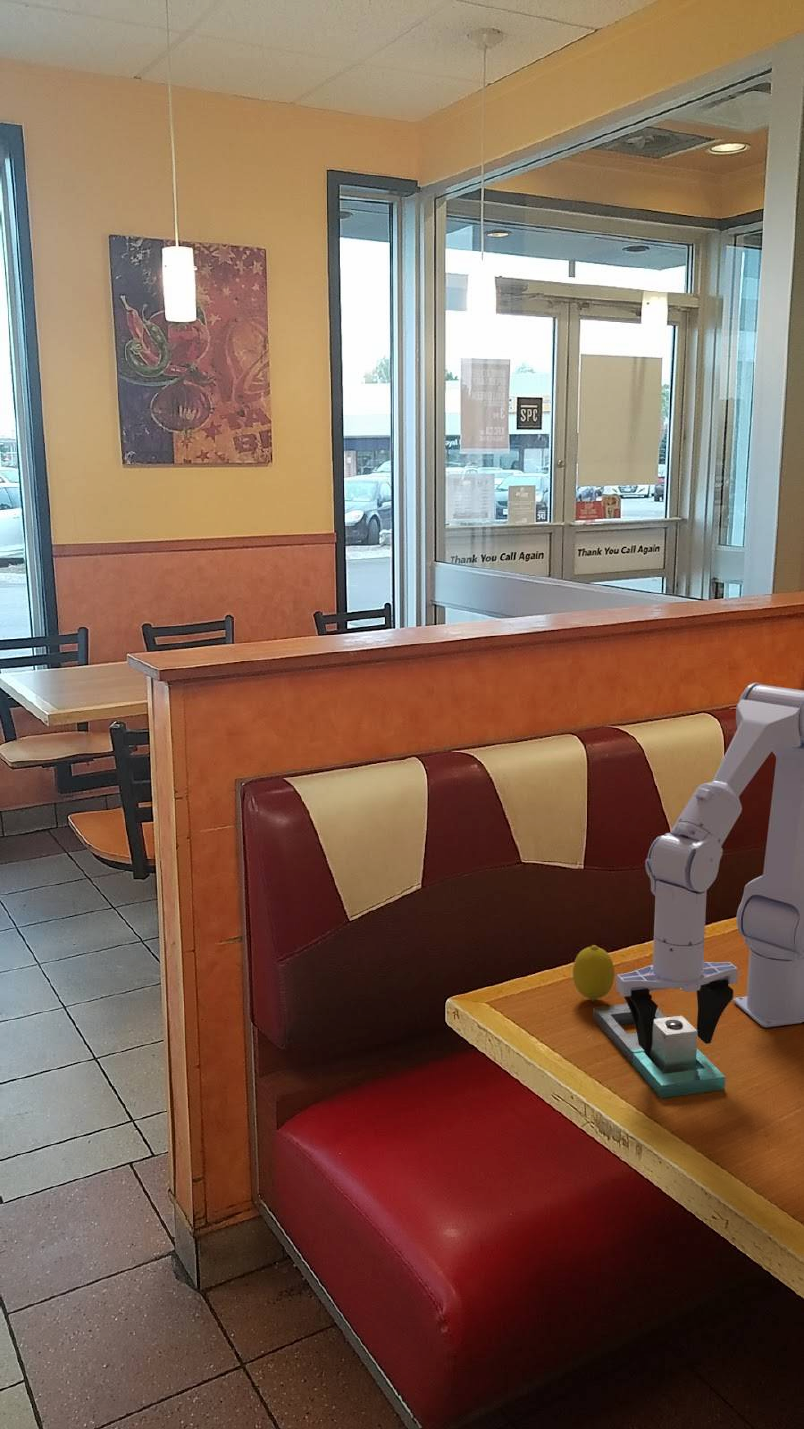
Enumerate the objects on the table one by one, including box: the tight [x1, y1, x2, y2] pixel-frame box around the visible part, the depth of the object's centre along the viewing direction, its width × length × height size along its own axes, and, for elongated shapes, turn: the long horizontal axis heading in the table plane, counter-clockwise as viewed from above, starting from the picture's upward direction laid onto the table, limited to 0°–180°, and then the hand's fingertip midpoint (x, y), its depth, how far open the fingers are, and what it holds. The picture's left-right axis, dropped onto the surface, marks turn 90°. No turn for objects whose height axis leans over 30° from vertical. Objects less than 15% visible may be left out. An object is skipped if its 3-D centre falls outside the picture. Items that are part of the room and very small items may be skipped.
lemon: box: [572, 944, 615, 1002], centre depth 153 cm, size 6×6×8 cm
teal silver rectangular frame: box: [592, 1003, 726, 1099], centre depth 139 cm, size 8×20×2 cm, turn 13°
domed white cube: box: [650, 1015, 698, 1074], centre depth 134 cm, size 4×4×6 cm
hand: (674, 1043), depth 134 cm, fingers open, 7 cm apart
